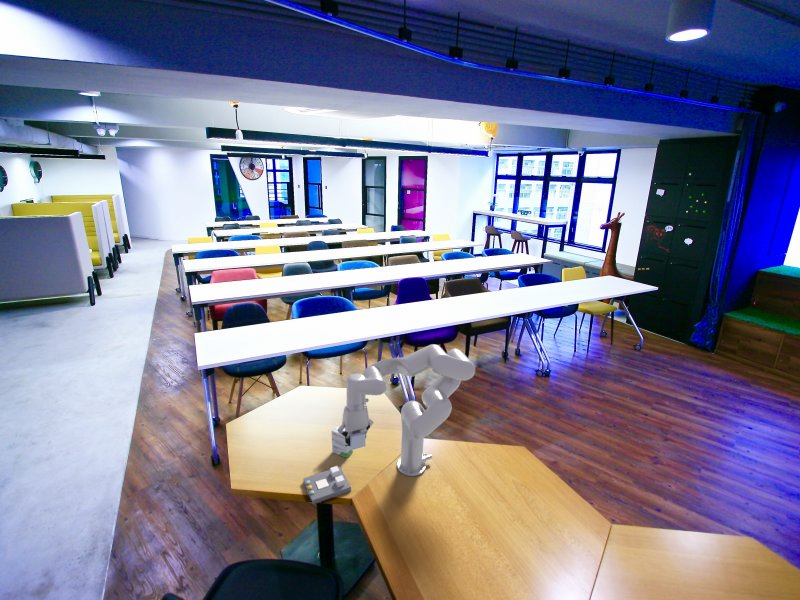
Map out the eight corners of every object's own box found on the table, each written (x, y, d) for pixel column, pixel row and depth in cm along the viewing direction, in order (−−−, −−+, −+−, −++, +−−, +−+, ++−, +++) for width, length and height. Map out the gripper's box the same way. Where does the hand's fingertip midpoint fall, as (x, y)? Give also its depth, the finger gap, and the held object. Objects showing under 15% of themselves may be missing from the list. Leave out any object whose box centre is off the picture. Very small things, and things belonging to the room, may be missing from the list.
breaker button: (325, 482, 171) (325, 478, 170) (329, 489, 167) (329, 485, 167) (315, 485, 169) (315, 481, 168) (318, 492, 165) (318, 489, 165)
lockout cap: (359, 437, 173) (359, 424, 171) (365, 446, 168) (365, 433, 166) (346, 441, 171) (346, 428, 169) (351, 450, 166) (351, 437, 164)
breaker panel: (340, 470, 178) (339, 461, 177) (351, 490, 167) (351, 481, 166) (303, 482, 171) (303, 473, 169) (312, 504, 160) (312, 495, 158)
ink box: (353, 452, 189) (353, 430, 185) (347, 458, 185) (346, 436, 181) (338, 446, 193) (337, 424, 189) (331, 452, 189) (331, 430, 185)
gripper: (372, 394, 170) (371, 431, 176) (332, 404, 163) (332, 442, 168) (379, 403, 164) (378, 441, 170) (338, 414, 156) (338, 453, 162)
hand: (355, 441), depth 169 cm, fingers closed on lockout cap, 5 cm apart
